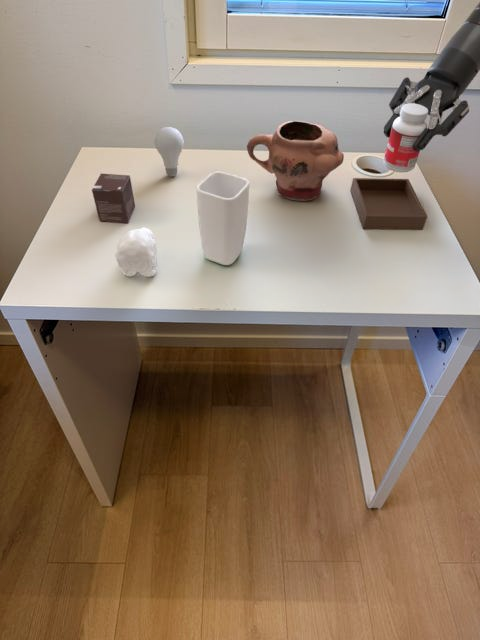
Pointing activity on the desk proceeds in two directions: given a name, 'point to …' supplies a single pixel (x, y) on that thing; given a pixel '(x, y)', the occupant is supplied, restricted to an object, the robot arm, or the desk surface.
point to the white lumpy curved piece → (137, 252)
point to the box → (114, 197)
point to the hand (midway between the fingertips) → (400, 142)
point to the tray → (387, 204)
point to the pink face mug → (299, 158)
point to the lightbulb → (169, 148)
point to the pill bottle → (405, 138)
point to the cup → (222, 215)
